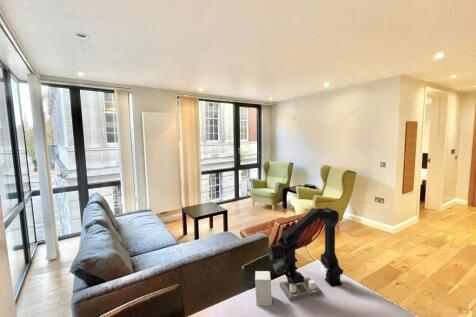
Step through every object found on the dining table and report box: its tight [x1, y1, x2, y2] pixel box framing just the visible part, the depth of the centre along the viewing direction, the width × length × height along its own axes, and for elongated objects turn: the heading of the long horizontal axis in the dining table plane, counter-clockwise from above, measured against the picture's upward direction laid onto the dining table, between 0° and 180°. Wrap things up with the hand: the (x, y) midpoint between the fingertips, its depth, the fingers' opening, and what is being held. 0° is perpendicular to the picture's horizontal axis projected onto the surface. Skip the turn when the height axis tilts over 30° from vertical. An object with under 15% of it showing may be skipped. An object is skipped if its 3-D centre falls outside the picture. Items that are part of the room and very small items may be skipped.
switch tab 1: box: [290, 283, 296, 293], centre depth 113 cm, size 2×2×3 cm
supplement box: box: [254, 270, 273, 306], centre depth 110 cm, size 7×7×13 cm
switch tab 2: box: [308, 279, 316, 290], centre depth 115 cm, size 2×2×3 cm
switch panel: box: [278, 276, 323, 302], centre depth 117 cm, size 17×12×2 cm
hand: (290, 286), depth 116 cm, fingers closed
